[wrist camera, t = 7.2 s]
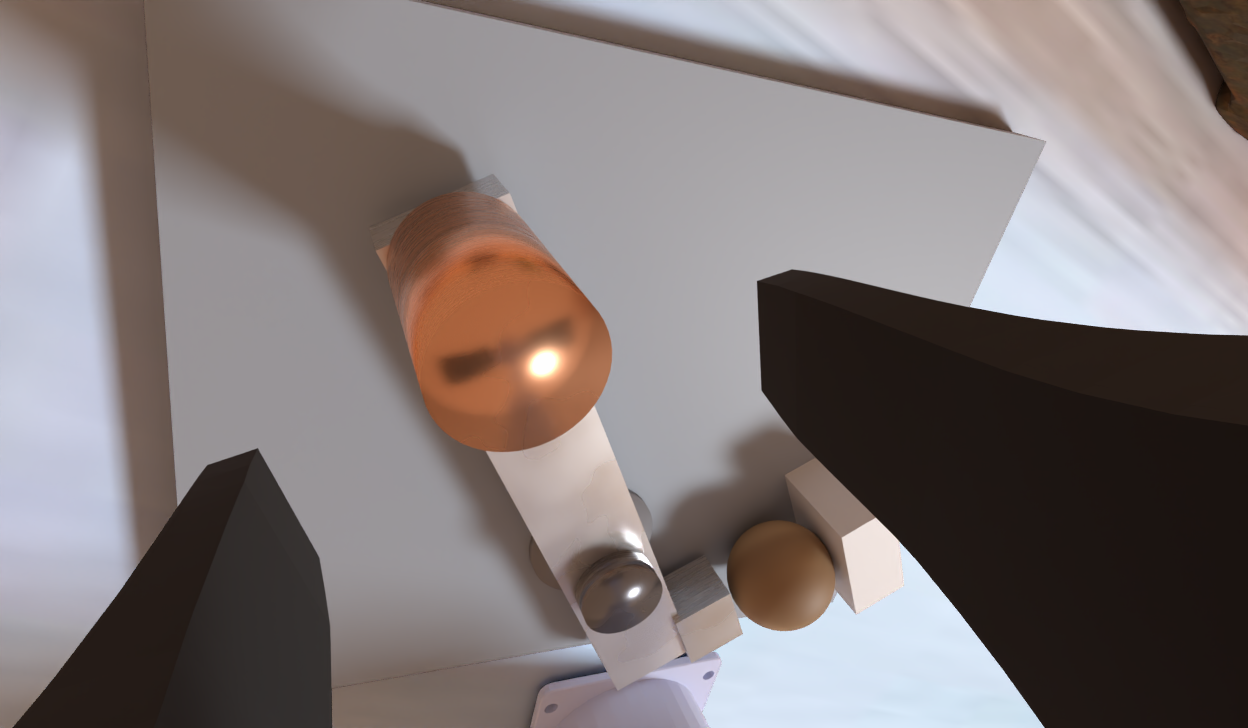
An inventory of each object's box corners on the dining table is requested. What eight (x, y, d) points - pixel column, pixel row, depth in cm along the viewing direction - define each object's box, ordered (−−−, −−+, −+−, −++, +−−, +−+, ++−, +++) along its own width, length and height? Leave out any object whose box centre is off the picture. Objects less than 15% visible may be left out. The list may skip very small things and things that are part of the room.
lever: (717, 594, 26) (814, 745, 21) (601, 659, 25) (675, 829, 20) (559, 116, 15) (682, 201, 11) (351, 204, 15) (384, 336, 10)
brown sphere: (777, 570, 27) (835, 645, 24) (696, 582, 26) (748, 663, 23) (808, 495, 26) (873, 565, 23) (724, 502, 24) (783, 579, 21)
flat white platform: (815, 581, 31) (883, 664, 27) (195, 677, 21) (177, 826, 17) (1014, 132, 23) (1147, 169, 19) (150, -61, 13) (99, -56, 9)
